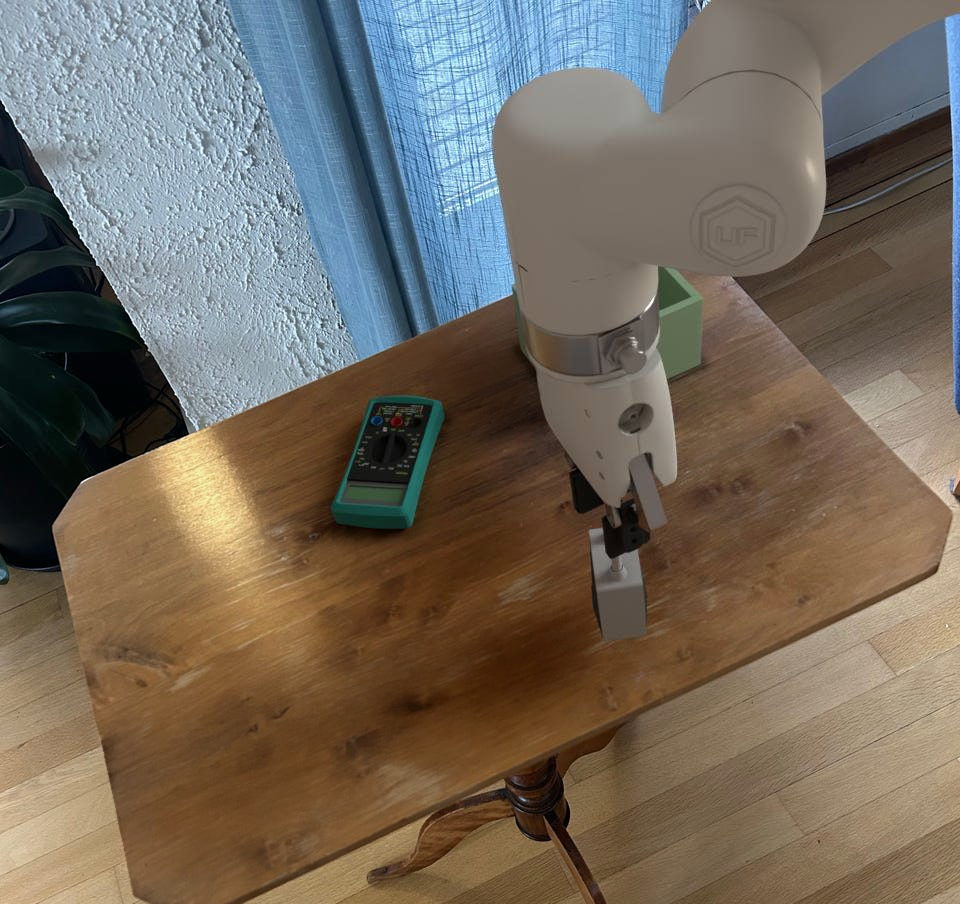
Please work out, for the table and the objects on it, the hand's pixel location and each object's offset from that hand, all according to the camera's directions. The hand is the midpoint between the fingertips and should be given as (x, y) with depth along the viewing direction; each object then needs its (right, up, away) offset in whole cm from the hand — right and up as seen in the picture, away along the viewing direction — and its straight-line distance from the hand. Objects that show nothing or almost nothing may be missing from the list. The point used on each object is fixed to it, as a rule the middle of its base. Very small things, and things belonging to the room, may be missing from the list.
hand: (611, 523), depth 71 cm
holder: (+3, +20, +29) cm, 35 cm away
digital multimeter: (-17, +8, +25) cm, 31 cm away
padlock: (+2, -5, +8) cm, 10 cm away
